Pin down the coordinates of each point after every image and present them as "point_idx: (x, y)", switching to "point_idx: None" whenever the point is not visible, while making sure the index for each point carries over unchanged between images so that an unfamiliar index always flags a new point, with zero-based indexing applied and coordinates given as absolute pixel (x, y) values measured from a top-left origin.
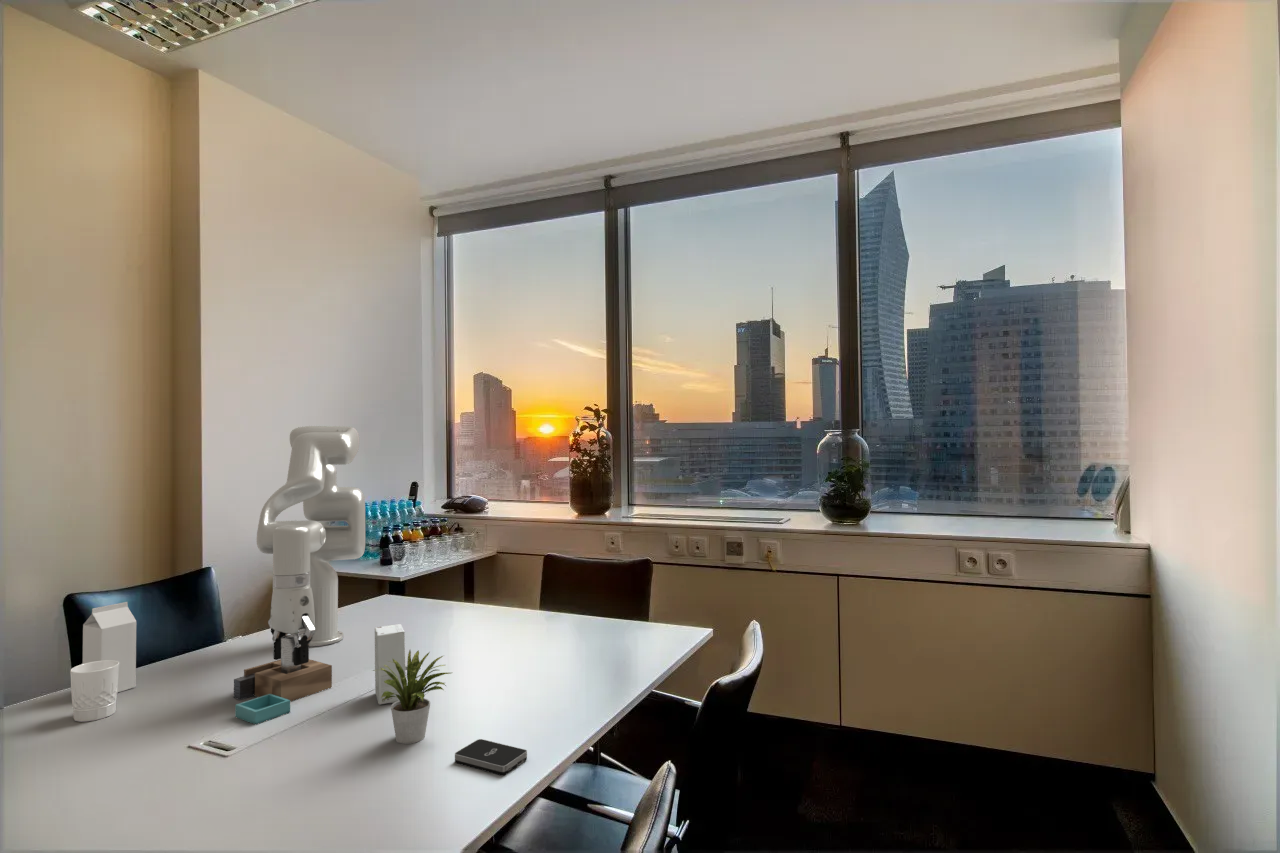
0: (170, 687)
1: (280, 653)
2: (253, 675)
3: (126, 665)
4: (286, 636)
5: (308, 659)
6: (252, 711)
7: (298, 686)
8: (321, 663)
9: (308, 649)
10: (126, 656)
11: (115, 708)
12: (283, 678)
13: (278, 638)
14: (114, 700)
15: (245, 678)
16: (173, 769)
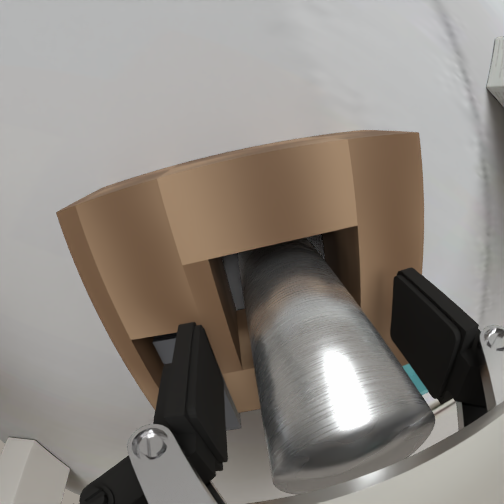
0: (48, 421)
1: (216, 384)
2: None
3: (34, 480)
4: (312, 481)
5: (416, 272)
6: (424, 392)
7: None
8: (348, 150)
9: (454, 305)
10: (30, 493)
11: None
12: (395, 354)
13: (209, 477)
14: None
15: (225, 416)
16: (433, 434)
